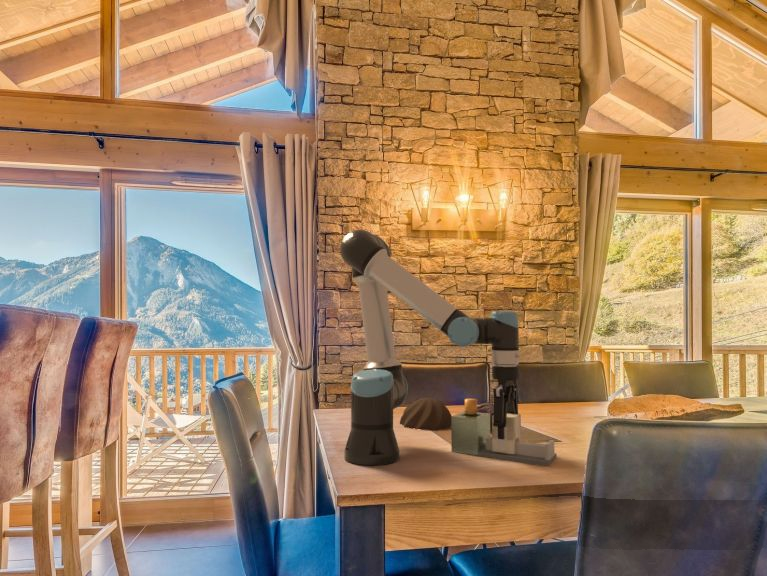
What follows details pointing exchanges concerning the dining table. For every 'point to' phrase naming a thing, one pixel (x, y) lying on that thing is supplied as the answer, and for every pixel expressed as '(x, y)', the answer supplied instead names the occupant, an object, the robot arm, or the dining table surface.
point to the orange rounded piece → (470, 406)
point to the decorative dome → (426, 415)
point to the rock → (487, 410)
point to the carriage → (508, 433)
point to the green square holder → (469, 432)
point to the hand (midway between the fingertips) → (506, 447)
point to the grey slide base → (523, 452)
